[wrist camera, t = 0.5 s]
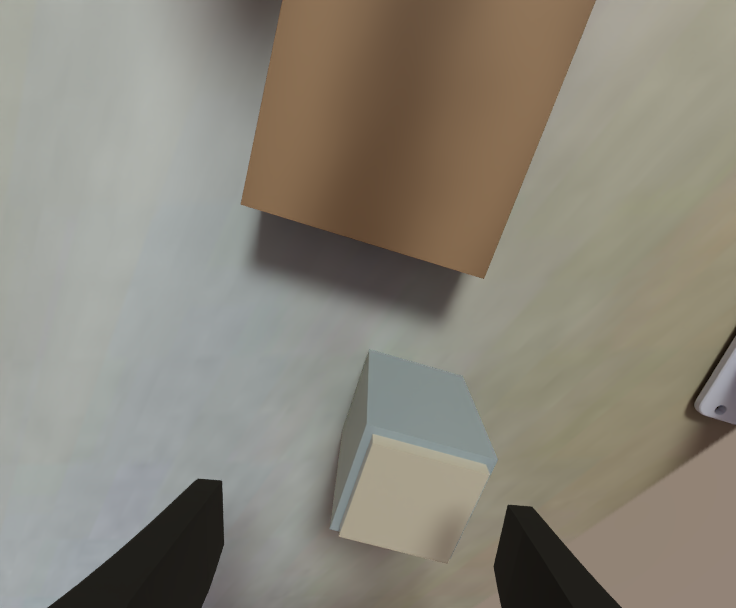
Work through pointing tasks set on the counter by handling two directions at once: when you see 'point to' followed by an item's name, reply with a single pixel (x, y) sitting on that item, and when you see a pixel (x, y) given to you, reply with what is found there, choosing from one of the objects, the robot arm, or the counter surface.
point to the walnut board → (409, 118)
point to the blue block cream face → (410, 459)
